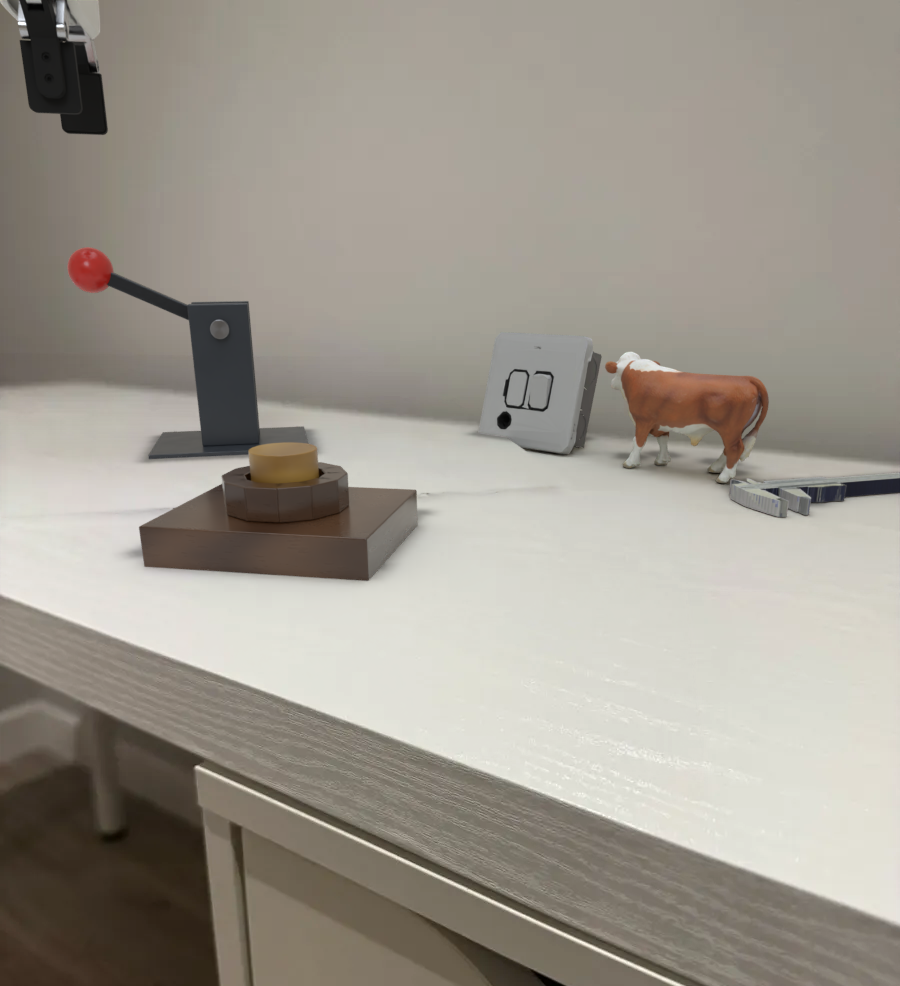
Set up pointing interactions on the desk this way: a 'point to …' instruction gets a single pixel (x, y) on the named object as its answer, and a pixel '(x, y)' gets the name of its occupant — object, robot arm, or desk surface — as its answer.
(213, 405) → the switch bracket
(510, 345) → the electrical switch
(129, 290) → the lever
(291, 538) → the block
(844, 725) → the desk surface
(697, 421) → the bull figurine
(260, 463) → the button
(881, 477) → the caliper
